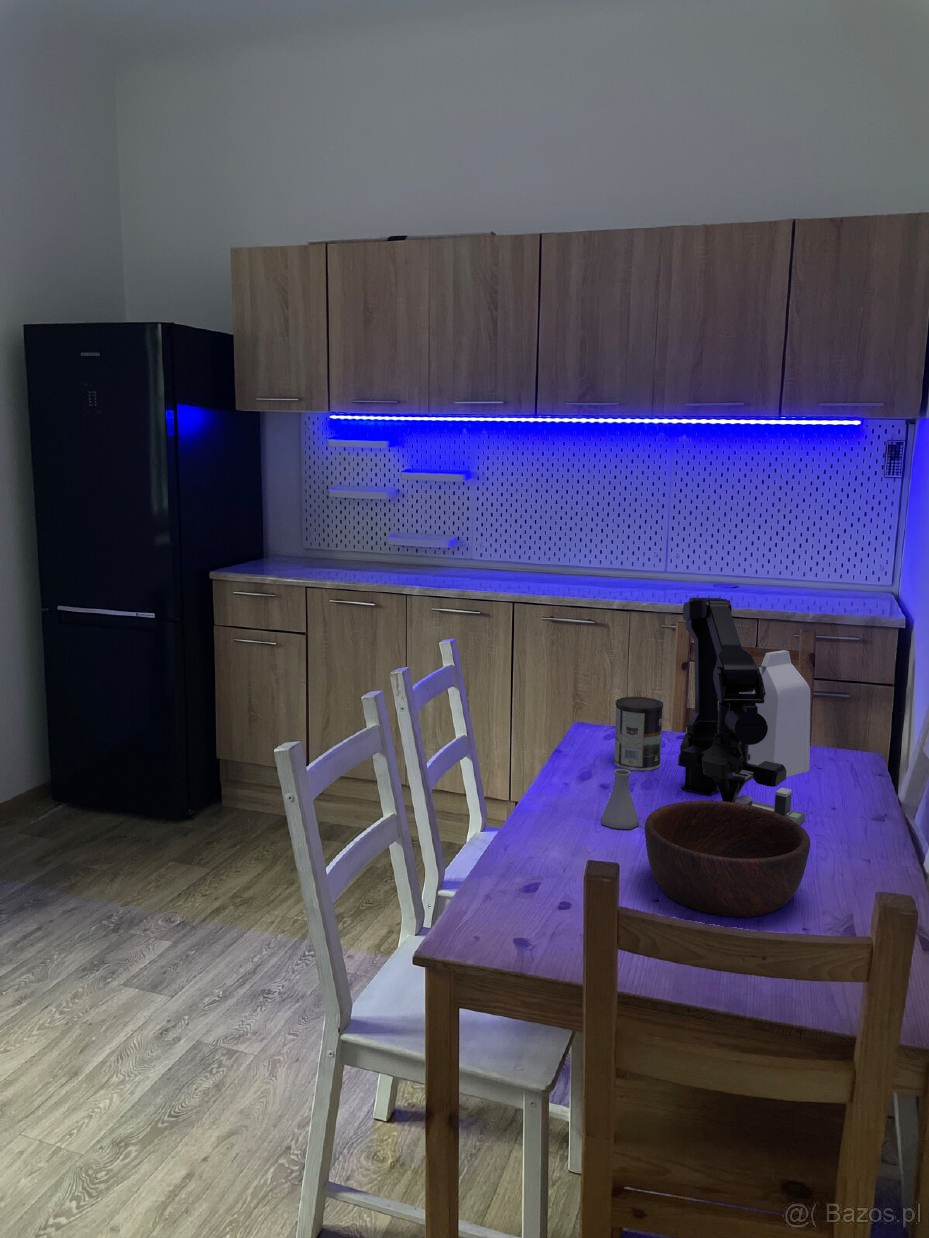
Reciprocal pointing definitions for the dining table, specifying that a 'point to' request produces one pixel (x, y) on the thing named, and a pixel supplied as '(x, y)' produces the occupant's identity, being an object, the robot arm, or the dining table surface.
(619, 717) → the coffee can
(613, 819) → the flask
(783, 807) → the breaker far
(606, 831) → the dining table surface
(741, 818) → the wooden bowl
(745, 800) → the block
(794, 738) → the milk
